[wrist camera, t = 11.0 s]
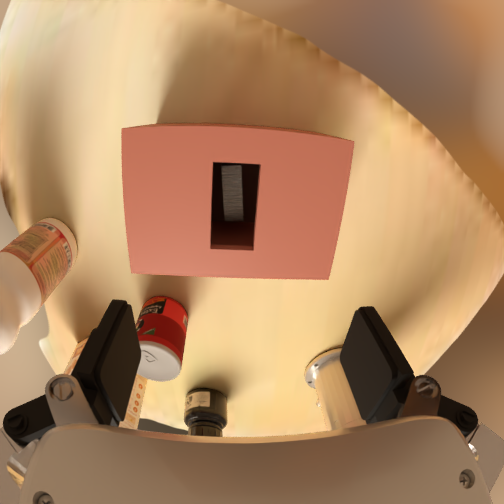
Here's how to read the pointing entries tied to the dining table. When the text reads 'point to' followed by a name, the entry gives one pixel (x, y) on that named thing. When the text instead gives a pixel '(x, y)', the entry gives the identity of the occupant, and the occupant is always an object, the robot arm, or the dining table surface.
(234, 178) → the block
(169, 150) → the box
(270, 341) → the dining table surface
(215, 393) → the ink bottle
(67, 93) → the dining table surface
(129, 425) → the coffeecake box
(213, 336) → the dining table surface
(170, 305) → the canned food
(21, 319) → the fruit juice
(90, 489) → the robot arm
